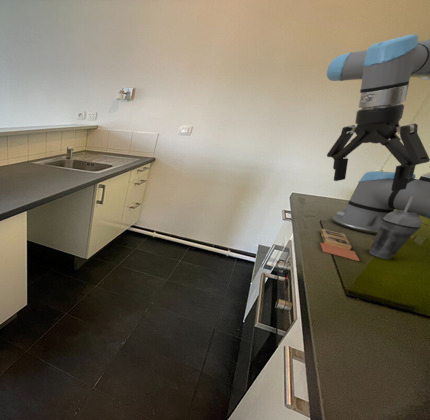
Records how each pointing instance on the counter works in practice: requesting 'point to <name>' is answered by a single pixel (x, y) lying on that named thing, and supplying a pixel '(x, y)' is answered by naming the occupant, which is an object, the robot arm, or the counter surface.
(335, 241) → the oak tile
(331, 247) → the slot pad
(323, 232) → the oak tile
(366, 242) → the counter surface
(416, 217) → the beverage cup
